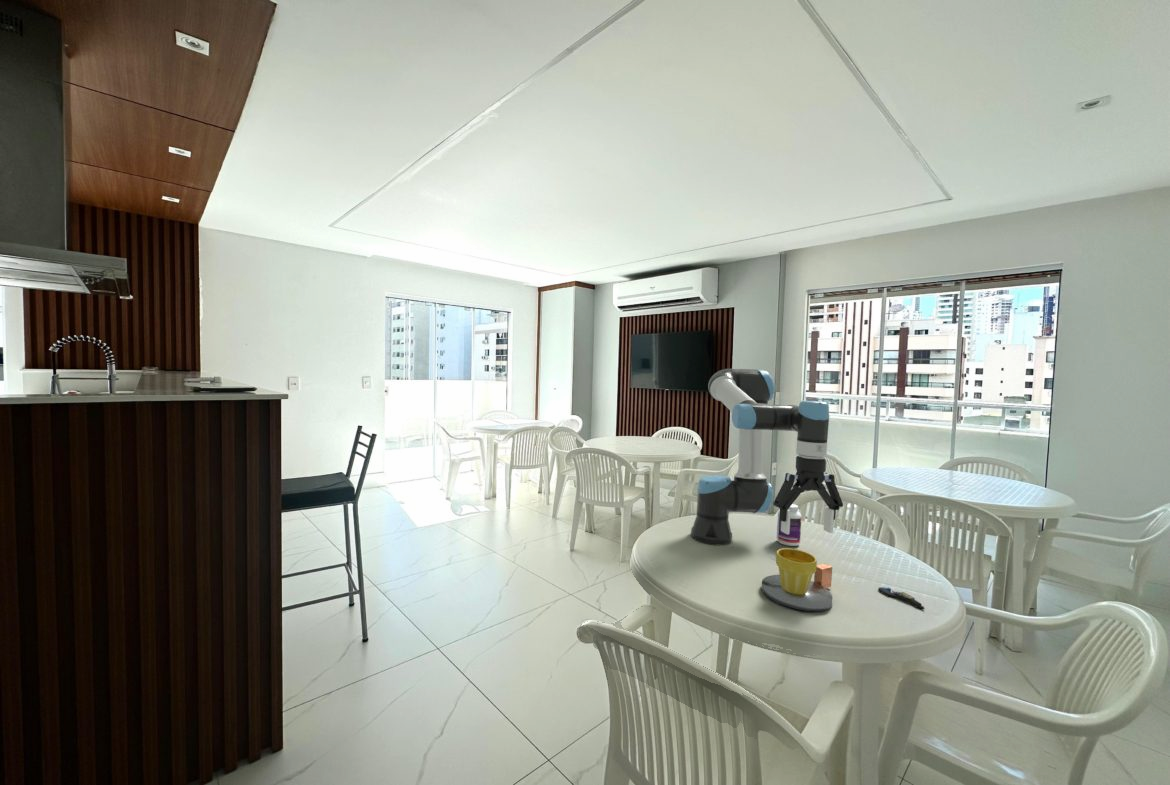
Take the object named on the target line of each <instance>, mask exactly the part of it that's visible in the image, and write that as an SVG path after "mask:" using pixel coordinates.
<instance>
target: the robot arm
mask: <svg viewBox="0 0 1170 785" xmlns="http://www.w3.org/2000/svg"><path fill="white" fill-rule="evenodd" d="M707 387H708V392H709V394H710V396H711V397H712V398H713V399H715V400H716V401H719V402H721V403H722V404H723V405H724V406H725V407H726V409H728V410H729V411H730V412H731V421H732V424H733V426H734V428H736V429H738V465H737V466H738V467H737V468H738V469H737V470H738V471H737V472H736V473H734V476H733V480H731V478H730V476H727V475H719V474H714V475H707V476H703V477H701V478H700V479H699V480H698V486H697V499H696V502H697V504H696V516H695V519H694V522H693V525H692V527H691V529H690V537H691V538H692V539H693V540H695V541H697V542H699V543H701V544H705V545H711V546H727V545H730V544H731V543H732V542H733V533H732V529H731V525H730V524H731V523H730V521H729V516H730V515H729V513H749V514H750V513H751V514H757V513H758V514H763V513H766V512H767V511H768V510H769V509H770V508H771V506H772V505H773V506H774V507H776V508H778V509H779V510H780V515H779V519H780V520H781V531H782V532H784V533H785V534H789V532H790V514H791V511H790V510H788V509H789V507H790V506H791V505H792V504H794V503H795V502H796V500H797V499H798V497H799V496H800V495H801V494H802V493H804V492H805V491H814V492H815V491H816V492H817V493H818V494H819V496H820V497H821V499H822V500H823V501H824V502H825V504H826V506H825V507H824V512H823V513H824V514H823V517H824V518H823V531H825V532H827V533H830V534H833V533H834V521H836V517H837V515H836V514H837V511H839V510H840V508H842V507H843V506H844V503H843V501H842V497H841V496H840V495H841V494H840V492H839V491H838V488H837V485H836V482H835V479H836V478H835V475H834V474H833V473H828V472H826V470H827V459H826V457H827V456H828V455H827V454H828V453H827V452H828V451H827V450H828V436H829V425H830V424H829V422H830V405H829V403H828V402H825V401H819V400H818V401H817V400H816V401H815V400H801V401H800V402H799V405H794V404H792V405H791V404H788V405H778V404H776V405H775V404H769V403H768V402H769V401H771V400H772V399H773V397H774V393H775V383H774V379H773V377H772V375H771V374H770V373H769V372H768V371H766V370H763V369H753V368H752V369H748V368H747V369H746V368H744V369H743V368H724V369H720V370H718V371H717V372H715V373H714V374H713V375H712V376H711V377H710V379H709V380H708V383H707ZM764 431H780V432H781V431H782V432H783V431H785V432H786V431H787V432H790V431H791V432H797V437H796V451H795V453H796V457H795V470H796V472H795V474H792V473H789V472H786V473H785V477H784V481H783V483H782V485H781V487H780V489H779V491H778V493H777V495H776V497H775V499H774V501H773V498H774V491H773V486H772V484H771V483H770V482H769V481H767V476H766V475H765V474H764V473H763V461H764V460H763V459H764V458H763V457H764V456H763V453H764V452H763V450H764V444H763V443H764ZM823 483H824V484H825V485H824V484H823ZM772 503H773V504H772Z"/></svg>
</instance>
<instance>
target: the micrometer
mask: <svg viewBox="0 0 1170 785" xmlns="http://www.w3.org/2000/svg"><path fill="white" fill-rule="evenodd" d="M878 592H880V593H881V594H883V595H884V596H886V597H889V598H892V599H893V598H894V599H897V600H898V601H901V602H903V603H906V604H909V605H911V606H913V607H915V608H917V609H921V610H925V607H924V605H922V603H921V602H919V601H918V600H916V598H915V597H913V596H912V595H910V594H908V593H906V592H901V591H895V590H892V588H890V587H885V586H884V587H878Z"/></svg>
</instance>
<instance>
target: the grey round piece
mask: <svg viewBox="0 0 1170 785" xmlns="http://www.w3.org/2000/svg"><path fill="white" fill-rule="evenodd" d="M813 575H814V576H813V580H811V581H810V584H809V587H808V590H807V593H805V594H802V595H798V594H793V593H790V592H787V591H785V590H784V589H783V588H782V587H781V581H780V574H771V575H768V576H765V577H763V579H762V581H761V591H762V593H763V594H764V595H765V596H766V597H767V598H769V599H771V601H774V602H776V603H777V604H780V605H782V606H785V607H788V608H792V609H794V610H799V611H800V610H801V611H807V612H821V611H826V610H828V609H830V608H832V606H833V594H832V593H831V592H830V590H828V589H829V588H831V587H832V582H833V581H832V579H833V578H832V577H833V576H832V575H833V566H832V565H828V564H826V563H821V564H818V565H817V567H816V572H815V573H814V574H813Z"/></svg>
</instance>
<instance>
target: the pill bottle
mask: <svg viewBox="0 0 1170 785" xmlns="http://www.w3.org/2000/svg"><path fill="white" fill-rule="evenodd" d="M788 510H790V511H791V514H790V532H789V534H785V533H784V532H782V531H781V520H780V519H779V515H780V509H779V510H778V513H777V526H776V540H777V542H778V543H779V544H782V545H783V546H789V547H797V546H799V545H800V544H801V532H802V514H801V512H799V506H798V504H795V503H793V504H792V505H791V506H790V507H789V509H788Z"/></svg>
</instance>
